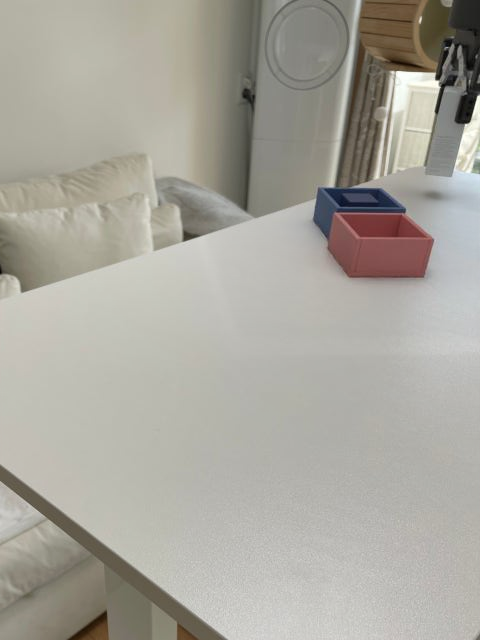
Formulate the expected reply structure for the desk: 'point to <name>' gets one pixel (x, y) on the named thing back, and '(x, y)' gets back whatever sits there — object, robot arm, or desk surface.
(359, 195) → the navy block
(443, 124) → the cosmetic box
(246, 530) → the desk surface
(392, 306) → the desk surface
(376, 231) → the rose bin
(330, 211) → the blue bin
